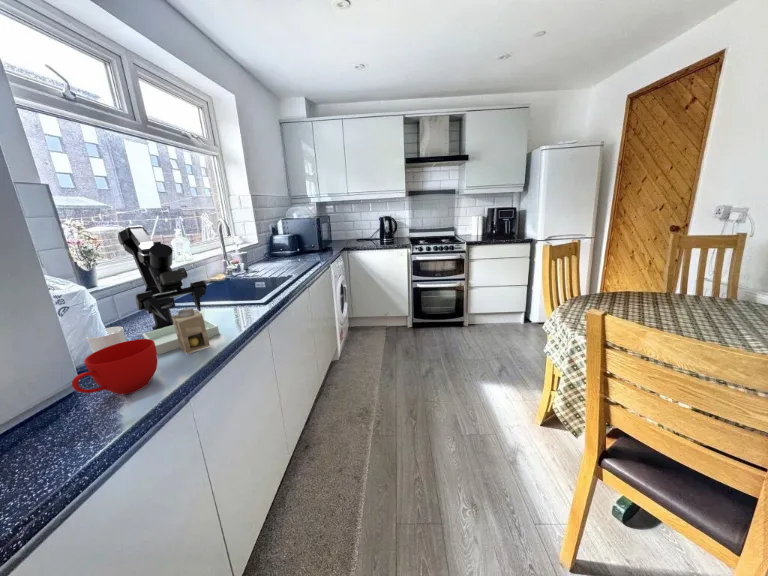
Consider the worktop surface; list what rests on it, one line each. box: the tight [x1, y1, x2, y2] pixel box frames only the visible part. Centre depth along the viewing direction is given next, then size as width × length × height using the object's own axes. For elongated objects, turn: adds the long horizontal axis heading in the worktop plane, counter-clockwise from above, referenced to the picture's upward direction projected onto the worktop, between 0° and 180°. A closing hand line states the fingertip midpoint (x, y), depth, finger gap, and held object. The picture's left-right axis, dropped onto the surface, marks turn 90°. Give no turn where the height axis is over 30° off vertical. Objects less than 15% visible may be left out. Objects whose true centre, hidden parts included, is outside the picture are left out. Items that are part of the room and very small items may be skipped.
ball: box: [189, 337, 199, 347], centre depth 94 cm, size 3×3×3 cm
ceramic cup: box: [71, 338, 158, 396], centre depth 71 cm, size 13×17×10 cm
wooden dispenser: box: [172, 307, 211, 355], centre depth 92 cm, size 6×6×12 cm
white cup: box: [85, 326, 127, 354], centre depth 86 cm, size 8×8×10 cm
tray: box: [142, 317, 220, 356], centre depth 102 cm, size 16×18×3 cm
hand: (183, 315), depth 93 cm, fingers open, 9 cm apart
